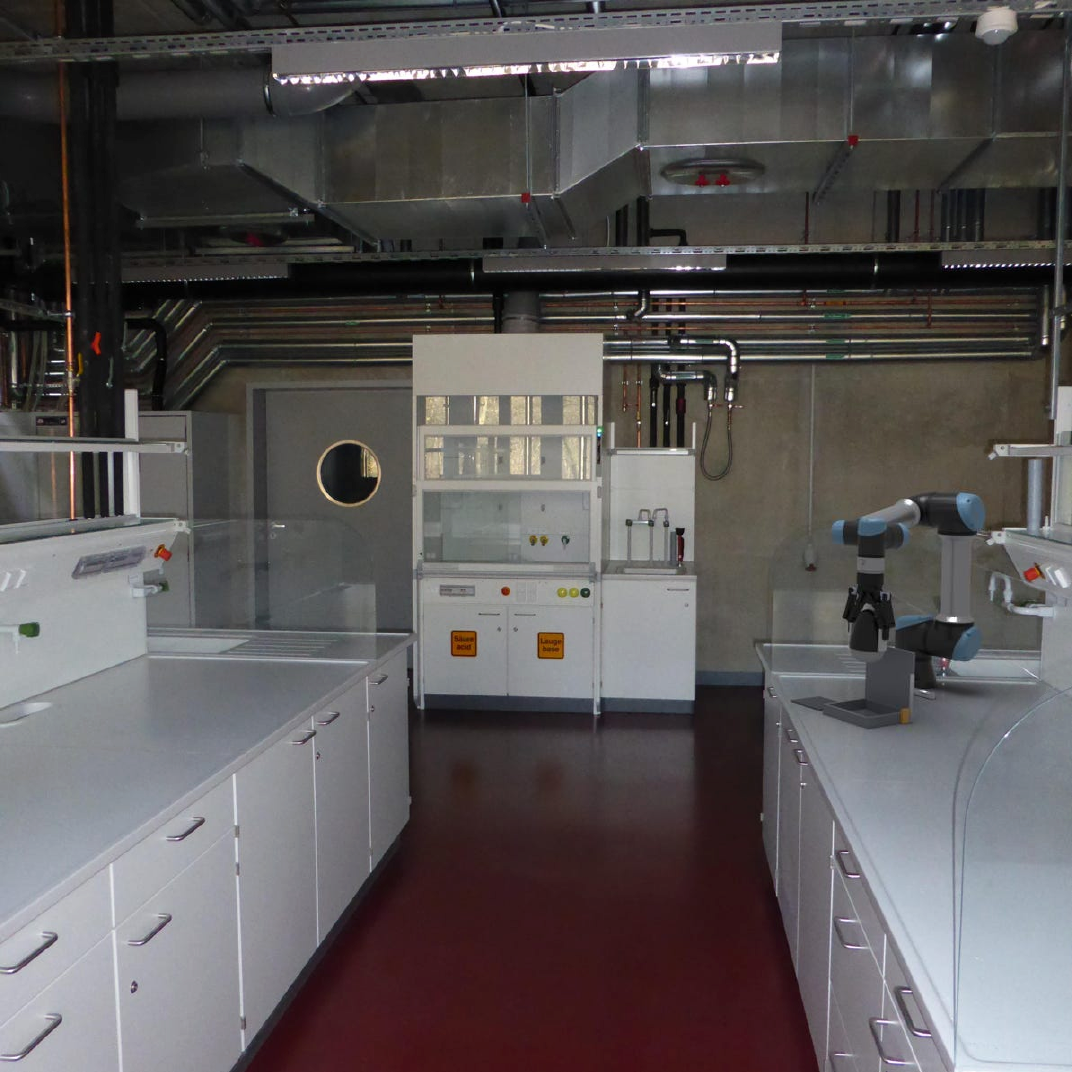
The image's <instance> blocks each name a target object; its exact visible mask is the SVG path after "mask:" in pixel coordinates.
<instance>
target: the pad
mask: <svg viewBox="0 0 1072 1072" xmlns="http://www.w3.org/2000/svg"><path fill="white" fill-rule="evenodd" d="M790 702H791V703H794V704H797V705H800V706H802V707H806V708H809V709H812V710H816V711H818V712H821V711H822V712H823V704H827V703H833V702H838V701H837V700H834V699H831V698H827V697H824V696H821V695H817V696H811V697H804V698H798V699H797V698H796V699H790Z"/></svg>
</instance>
